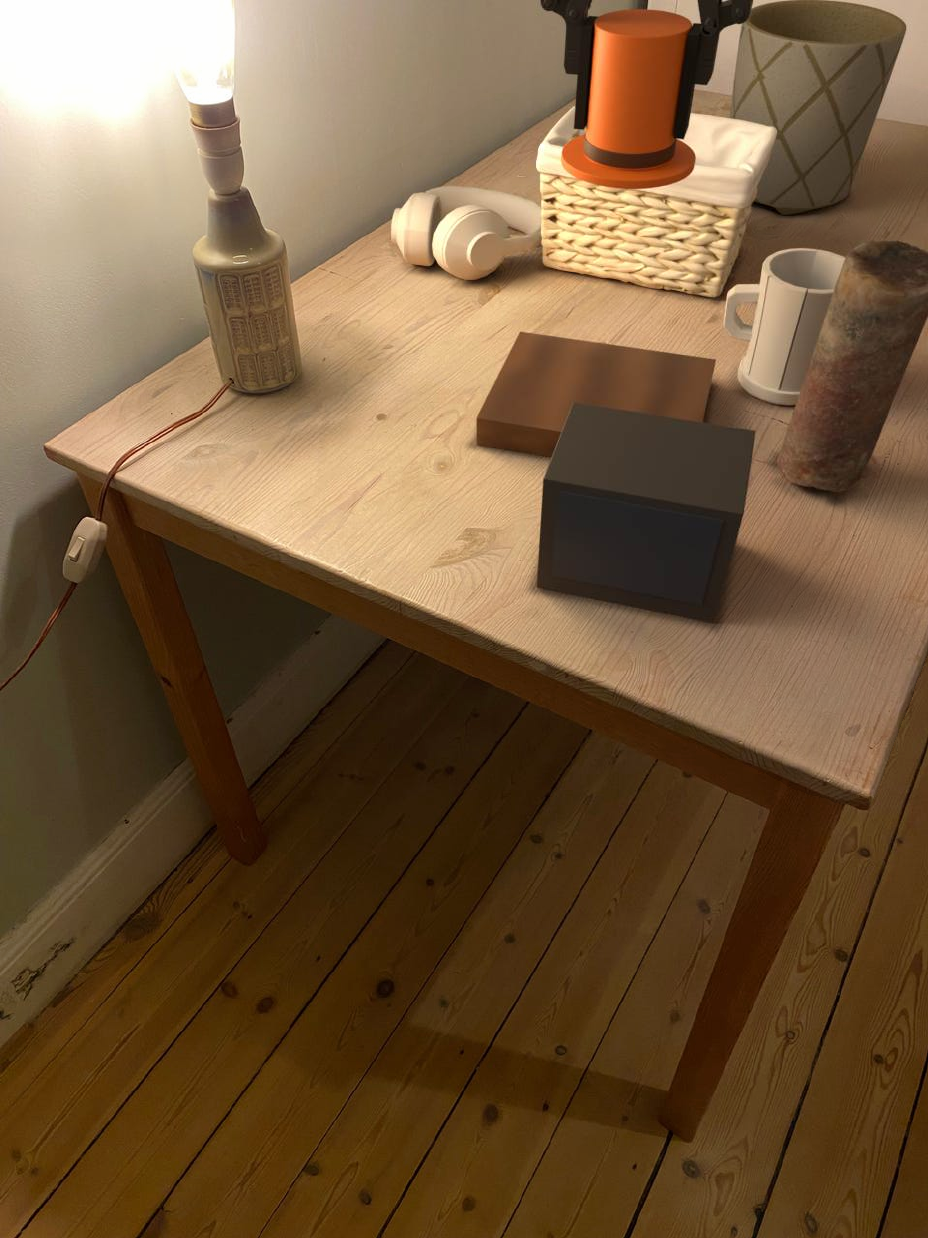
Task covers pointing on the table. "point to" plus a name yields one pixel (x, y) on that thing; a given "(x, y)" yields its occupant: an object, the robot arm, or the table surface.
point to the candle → (857, 365)
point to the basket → (656, 211)
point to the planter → (813, 93)
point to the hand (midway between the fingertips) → (631, 126)
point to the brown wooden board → (584, 388)
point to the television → (643, 510)
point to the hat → (633, 103)
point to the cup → (783, 321)
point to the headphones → (465, 229)
